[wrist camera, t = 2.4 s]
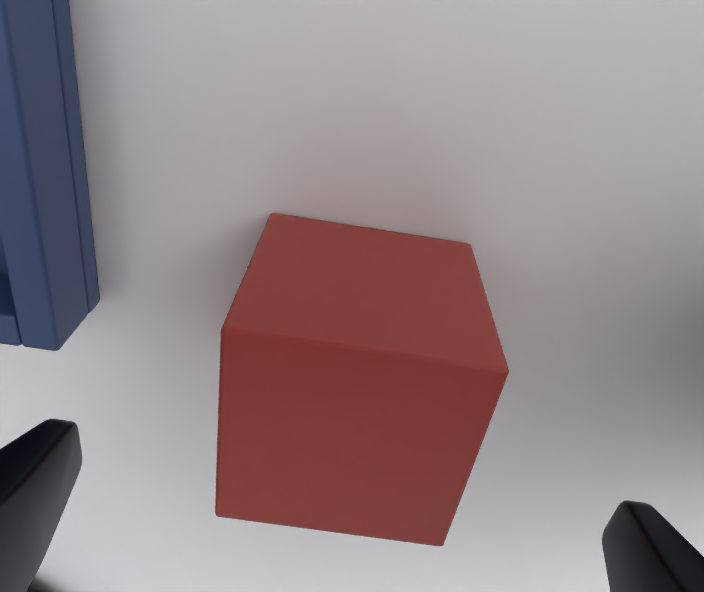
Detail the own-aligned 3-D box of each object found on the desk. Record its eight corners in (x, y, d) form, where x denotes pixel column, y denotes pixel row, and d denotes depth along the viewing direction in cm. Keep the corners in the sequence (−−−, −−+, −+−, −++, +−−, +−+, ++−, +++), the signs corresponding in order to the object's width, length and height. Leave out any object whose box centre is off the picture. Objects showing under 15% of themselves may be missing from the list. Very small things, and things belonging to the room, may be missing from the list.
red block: (471, 242, 12) (511, 371, 9) (427, 394, 15) (443, 548, 11) (270, 211, 12) (219, 328, 8) (257, 370, 15) (213, 517, 11)
